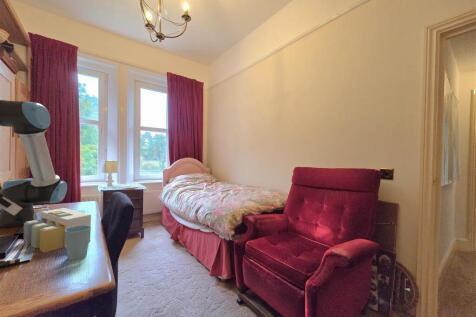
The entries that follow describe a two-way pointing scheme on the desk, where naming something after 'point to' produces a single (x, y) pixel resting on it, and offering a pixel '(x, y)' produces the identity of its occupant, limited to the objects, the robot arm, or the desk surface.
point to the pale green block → (38, 233)
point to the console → (66, 218)
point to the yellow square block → (52, 238)
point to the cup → (77, 241)
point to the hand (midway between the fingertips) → (10, 209)
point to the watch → (38, 211)
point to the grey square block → (30, 229)
